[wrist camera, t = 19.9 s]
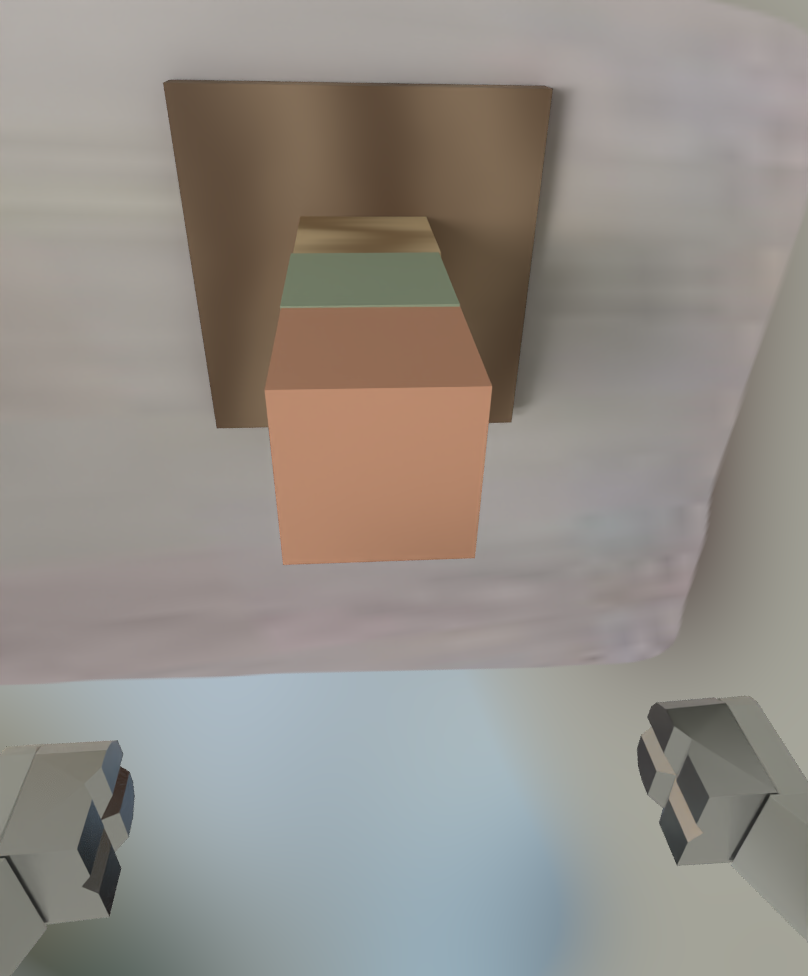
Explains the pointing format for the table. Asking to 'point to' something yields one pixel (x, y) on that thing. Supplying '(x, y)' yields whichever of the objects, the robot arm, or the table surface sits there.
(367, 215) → the walnut board
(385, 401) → the terracotta block
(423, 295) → the sage block
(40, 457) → the table surface
